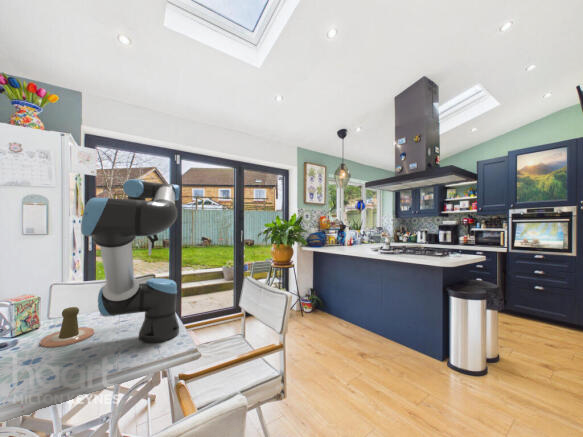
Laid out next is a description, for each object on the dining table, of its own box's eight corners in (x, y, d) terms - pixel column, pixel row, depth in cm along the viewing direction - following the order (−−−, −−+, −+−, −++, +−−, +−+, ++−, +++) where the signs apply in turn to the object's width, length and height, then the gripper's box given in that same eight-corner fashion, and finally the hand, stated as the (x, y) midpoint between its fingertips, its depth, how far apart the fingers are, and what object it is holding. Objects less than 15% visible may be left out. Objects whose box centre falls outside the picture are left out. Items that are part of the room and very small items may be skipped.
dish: (94, 339, 96) (95, 336, 96) (37, 351, 85) (37, 349, 86) (93, 326, 108) (93, 324, 108) (42, 335, 97) (42, 333, 98)
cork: (77, 330, 101) (79, 304, 101) (80, 335, 97) (82, 307, 98) (57, 335, 96) (59, 307, 97) (59, 340, 92) (61, 311, 93)
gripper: (162, 213, 126) (160, 253, 125) (102, 210, 110) (99, 256, 109) (166, 213, 121) (164, 255, 120) (103, 209, 104) (100, 258, 103)
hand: (133, 255), depth 114 cm, fingers open, 13 cm apart
